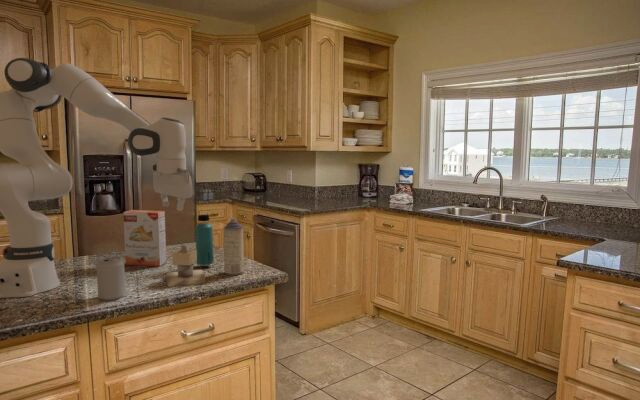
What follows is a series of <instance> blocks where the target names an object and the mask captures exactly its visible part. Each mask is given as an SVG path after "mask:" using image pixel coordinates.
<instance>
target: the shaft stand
mask: <svg viewBox="0 0 640 400" xmlns="http://www.w3.org/2000/svg"><path fill="white" fill-rule="evenodd" d="M180 249H181V252H183V253H188V252H189V244H181V245H180ZM206 279H207V278H206V277H205V273H204V271H203V269H194V263H193V264H191V265H177V271H170V272H166V281H167V282H166V283H167V287H168V288H169V287H179V286H188V285H189V286H190V285H199V284H206V283H207V281H206Z"/></svg>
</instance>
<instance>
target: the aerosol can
mask: <svg viewBox="0 0 640 400" xmlns="http://www.w3.org/2000/svg"><path fill="white" fill-rule="evenodd" d="M223 254H224V255H223V256H224V257H223V258H224V259H223V262H224V268H223V269H224V275H226V276H231V277H232V276H233V277H234V276H235V277H236V276H240V275H243V274H244V272H245V271H244V270H245V268H244V267H245V265H244V263H245V262H244V261H245V260H244V256H245V255H244V254H245V253H244V227H243V225H241V224H240V223H239V221H237V218H236V217H231V218H230V221H229V222H228V223H227V224H226V225H225V226H224V227H223Z"/></svg>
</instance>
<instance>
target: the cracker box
mask: <svg viewBox="0 0 640 400" xmlns="http://www.w3.org/2000/svg"><path fill="white" fill-rule="evenodd" d="M165 212H166V211H165V210H146V209H145V210H144V209H143V210H142V209H141V210H139V209H138V210H137V209H130V210H126V211H123V232H124V235H123V236H124V255H125V266H142V267H143V266H144V267H161V266H163V265H165V264H166V263H167V245H166V244H167V239H166V238H167V237H166V215H165V214H166V213H165Z"/></svg>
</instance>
